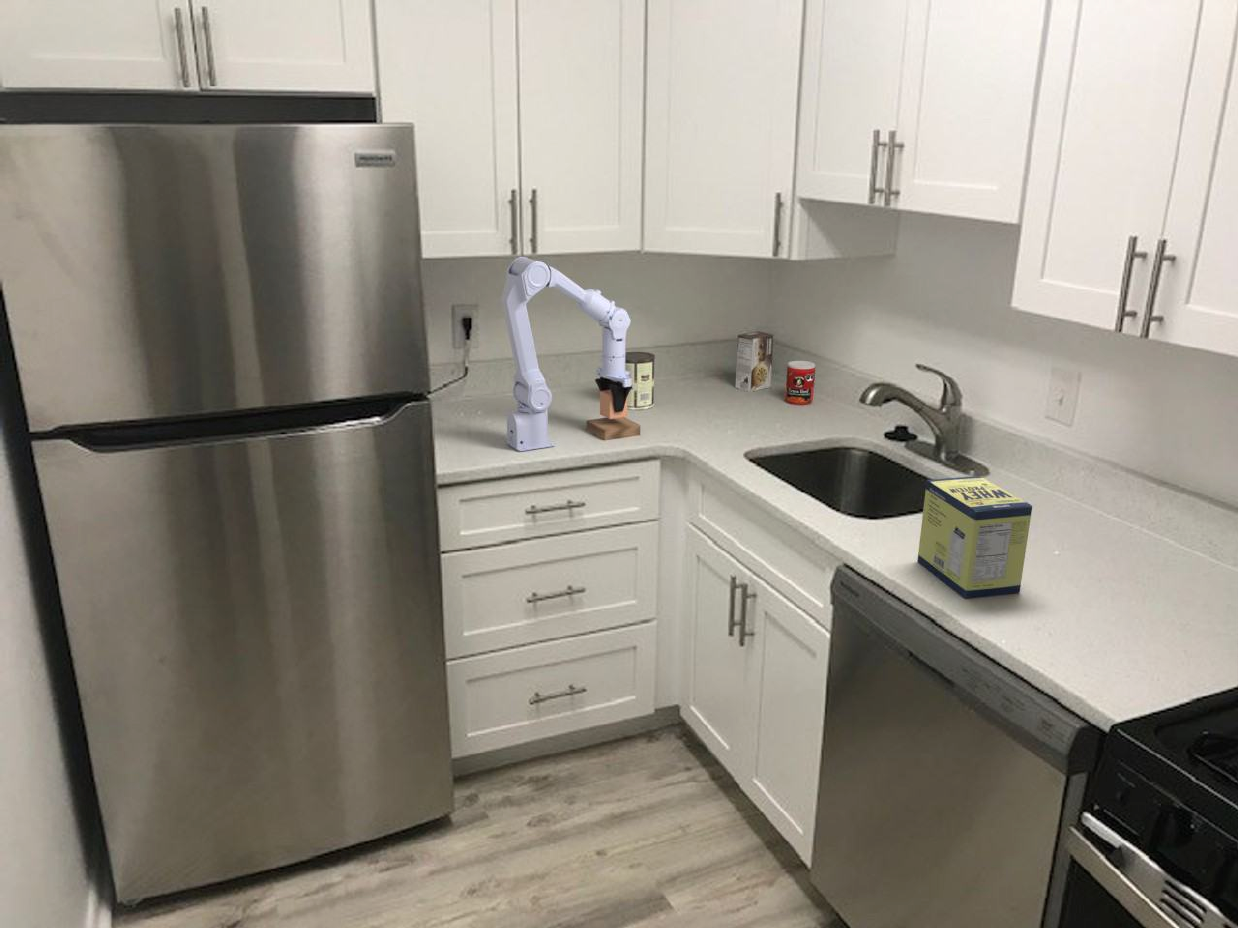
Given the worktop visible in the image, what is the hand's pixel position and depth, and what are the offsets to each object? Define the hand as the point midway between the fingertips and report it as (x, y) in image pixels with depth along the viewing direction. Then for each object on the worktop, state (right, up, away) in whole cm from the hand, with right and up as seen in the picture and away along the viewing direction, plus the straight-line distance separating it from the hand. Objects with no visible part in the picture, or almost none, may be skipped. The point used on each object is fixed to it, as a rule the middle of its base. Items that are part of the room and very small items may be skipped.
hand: (613, 408), depth 242 cm
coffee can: (+6, +2, +27) cm, 28 cm away
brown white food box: (+41, +9, +47) cm, 63 cm away
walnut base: (0, -6, +2) cm, 7 cm away
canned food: (+52, +4, +32) cm, 61 cm away
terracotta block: (0, -2, +1) cm, 2 cm away
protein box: (+61, -33, -76) cm, 103 cm away
